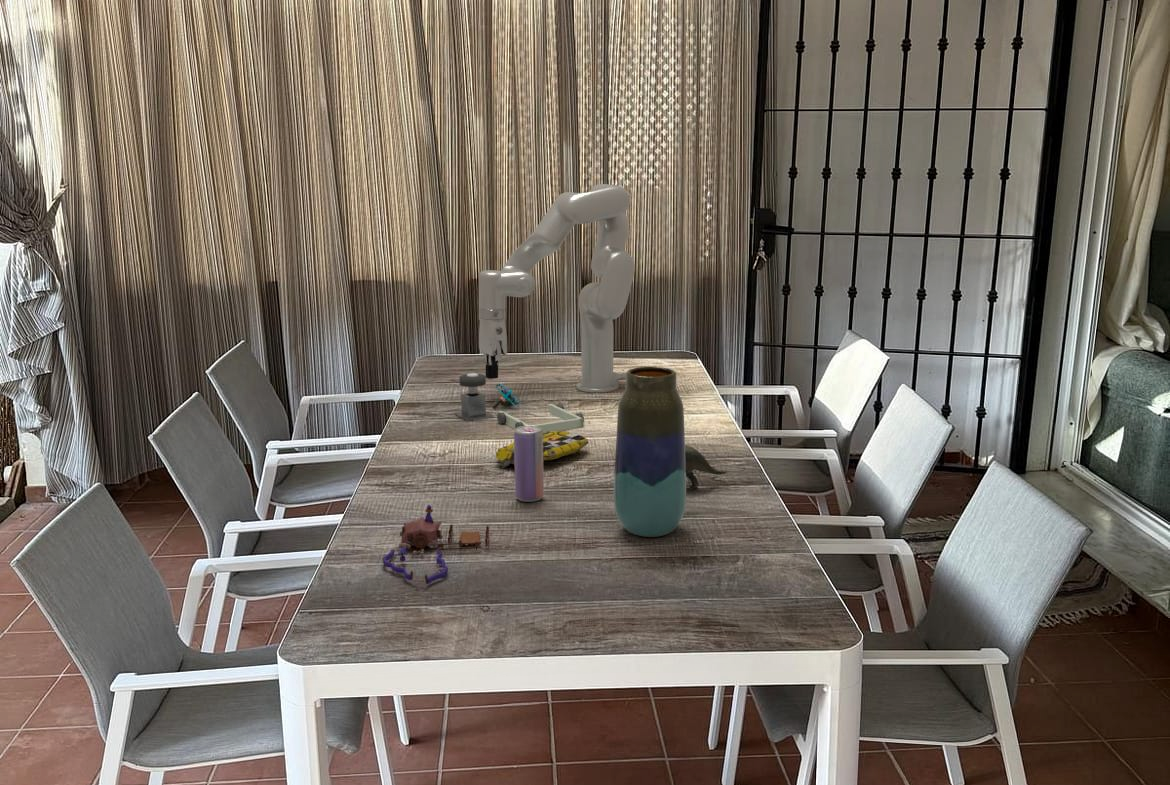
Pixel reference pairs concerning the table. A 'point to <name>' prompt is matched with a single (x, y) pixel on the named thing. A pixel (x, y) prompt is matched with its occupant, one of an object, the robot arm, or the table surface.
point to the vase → (650, 453)
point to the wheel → (472, 381)
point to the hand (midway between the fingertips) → (491, 377)
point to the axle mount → (473, 407)
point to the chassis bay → (568, 423)
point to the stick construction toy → (505, 396)
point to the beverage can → (528, 463)
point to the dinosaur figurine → (697, 465)
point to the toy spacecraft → (547, 447)
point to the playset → (429, 544)
